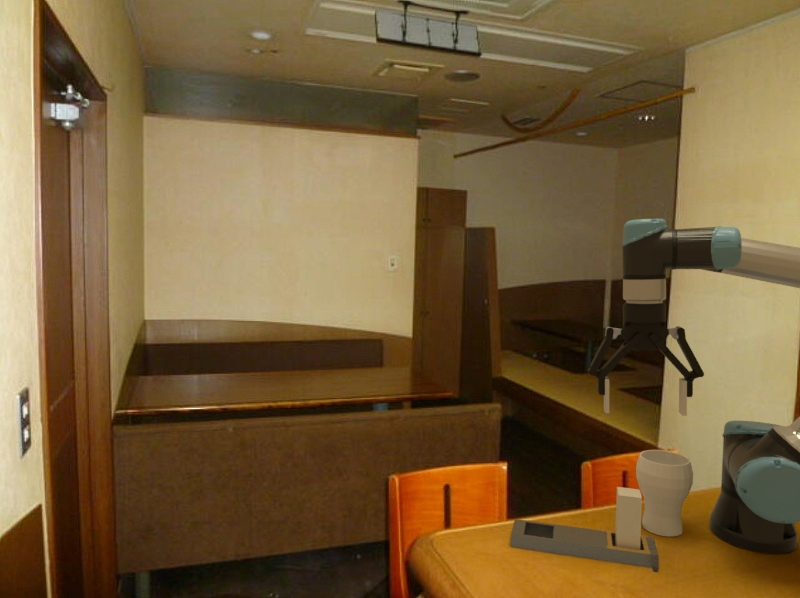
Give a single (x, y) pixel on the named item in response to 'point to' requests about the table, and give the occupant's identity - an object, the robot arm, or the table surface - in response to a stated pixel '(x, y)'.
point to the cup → (663, 489)
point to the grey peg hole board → (582, 543)
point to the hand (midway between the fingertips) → (644, 412)
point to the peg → (628, 518)
